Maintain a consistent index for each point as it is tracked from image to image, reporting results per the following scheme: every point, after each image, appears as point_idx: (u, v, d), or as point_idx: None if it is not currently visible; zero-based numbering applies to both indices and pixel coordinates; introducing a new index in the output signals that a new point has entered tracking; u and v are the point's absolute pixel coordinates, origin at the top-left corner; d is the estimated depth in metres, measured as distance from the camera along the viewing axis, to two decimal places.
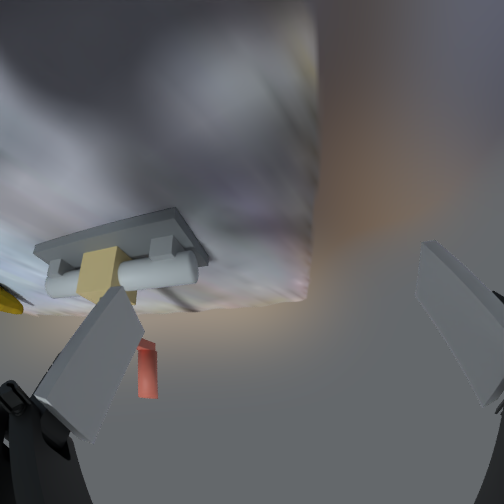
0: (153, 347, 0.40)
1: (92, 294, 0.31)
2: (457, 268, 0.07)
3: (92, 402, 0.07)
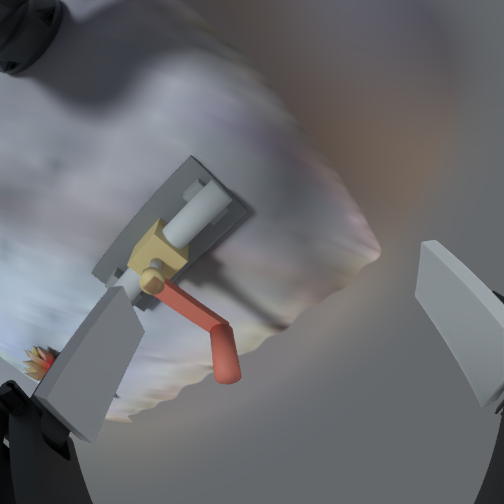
0: (226, 324, 0.37)
1: (142, 259, 0.35)
2: (457, 268, 0.07)
3: (92, 402, 0.07)
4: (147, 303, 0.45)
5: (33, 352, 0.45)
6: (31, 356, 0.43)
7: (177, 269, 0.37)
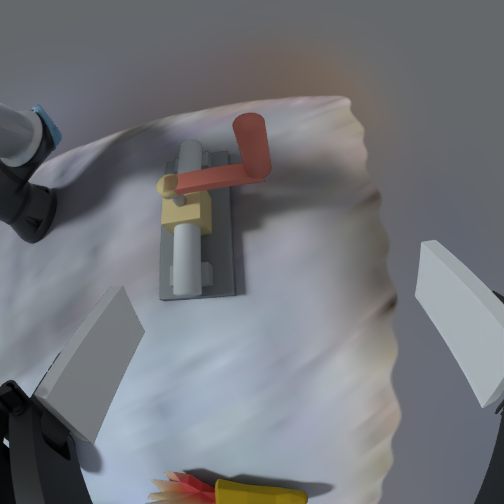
0: None
1: (169, 208, 0.38)
2: (457, 268, 0.07)
3: (92, 402, 0.07)
4: (228, 280, 0.40)
5: None
6: (158, 485, 0.28)
7: None
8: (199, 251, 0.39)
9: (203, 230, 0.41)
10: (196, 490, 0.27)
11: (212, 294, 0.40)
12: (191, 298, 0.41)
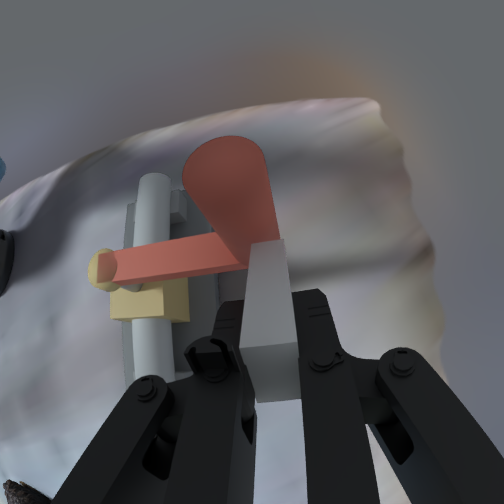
0: None
1: (119, 294, 0.23)
2: (275, 265, 0.10)
3: None
4: None
5: None
6: None
7: None
8: (170, 359, 0.23)
9: (176, 320, 0.26)
10: None
11: None
12: None
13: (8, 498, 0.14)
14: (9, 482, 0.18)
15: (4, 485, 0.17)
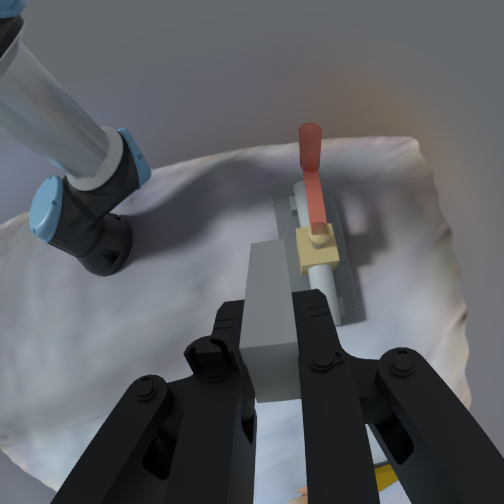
0: None
1: (307, 251, 0.42)
2: (275, 264, 0.10)
3: None
4: (355, 311, 0.44)
5: None
6: (296, 503, 0.31)
7: (332, 234, 0.43)
8: (335, 288, 0.43)
9: None
10: None
11: (342, 323, 0.43)
12: None
13: None
14: None
15: None
